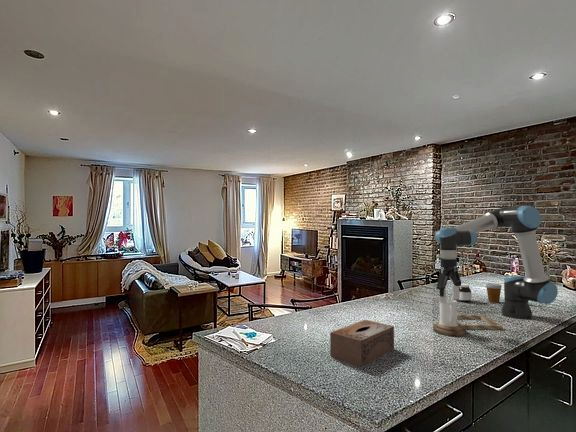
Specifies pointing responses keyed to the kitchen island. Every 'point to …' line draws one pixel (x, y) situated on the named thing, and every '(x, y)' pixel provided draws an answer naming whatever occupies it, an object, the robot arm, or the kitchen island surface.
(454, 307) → the mug
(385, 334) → the tissue box cover
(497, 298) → the disposable coffee cup
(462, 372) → the kitchen island surface
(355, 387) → the kitchen island surface
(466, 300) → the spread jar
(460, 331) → the brown wooden saucer
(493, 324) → the square wooden frame
